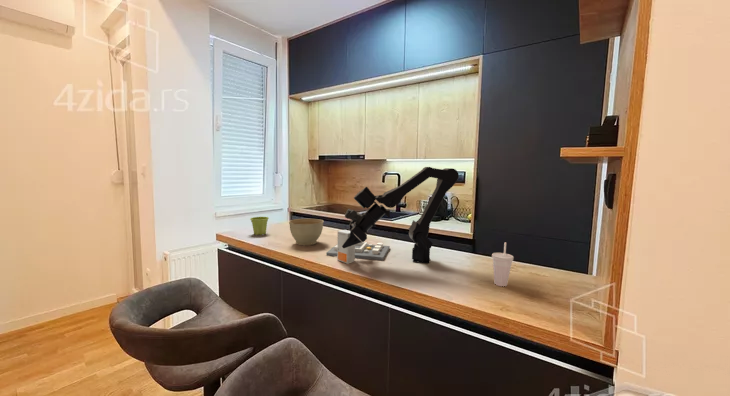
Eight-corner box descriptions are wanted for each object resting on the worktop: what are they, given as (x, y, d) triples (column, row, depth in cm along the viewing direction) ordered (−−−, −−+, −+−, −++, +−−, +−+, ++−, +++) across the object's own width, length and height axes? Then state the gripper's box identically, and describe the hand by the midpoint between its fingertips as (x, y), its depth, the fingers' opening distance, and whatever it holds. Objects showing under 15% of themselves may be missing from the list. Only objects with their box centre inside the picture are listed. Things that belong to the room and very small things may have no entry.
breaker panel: (389, 248, 137) (389, 242, 137) (383, 260, 120) (383, 253, 119) (339, 244, 142) (339, 238, 142) (326, 255, 125) (326, 248, 124)
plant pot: (258, 236, 155) (257, 220, 154) (246, 234, 160) (246, 218, 159) (272, 233, 163) (272, 217, 162) (261, 231, 168) (261, 216, 167)
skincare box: (336, 260, 118) (337, 230, 117) (344, 258, 121) (344, 229, 120) (347, 264, 114) (347, 233, 113) (355, 261, 117) (355, 231, 116)
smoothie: (510, 289, 93) (513, 245, 91) (488, 285, 96) (491, 242, 94) (512, 283, 98) (515, 241, 96) (491, 279, 101) (494, 238, 100)
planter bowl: (327, 246, 139) (327, 223, 138) (291, 249, 133) (291, 225, 132) (319, 238, 154) (319, 217, 153) (287, 240, 148) (287, 218, 147)
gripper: (356, 199, 125) (329, 225, 125) (358, 205, 106) (327, 235, 107) (374, 218, 126) (347, 243, 127) (379, 227, 108) (348, 256, 108)
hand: (342, 244), depth 117 cm, fingers open, 9 cm apart
